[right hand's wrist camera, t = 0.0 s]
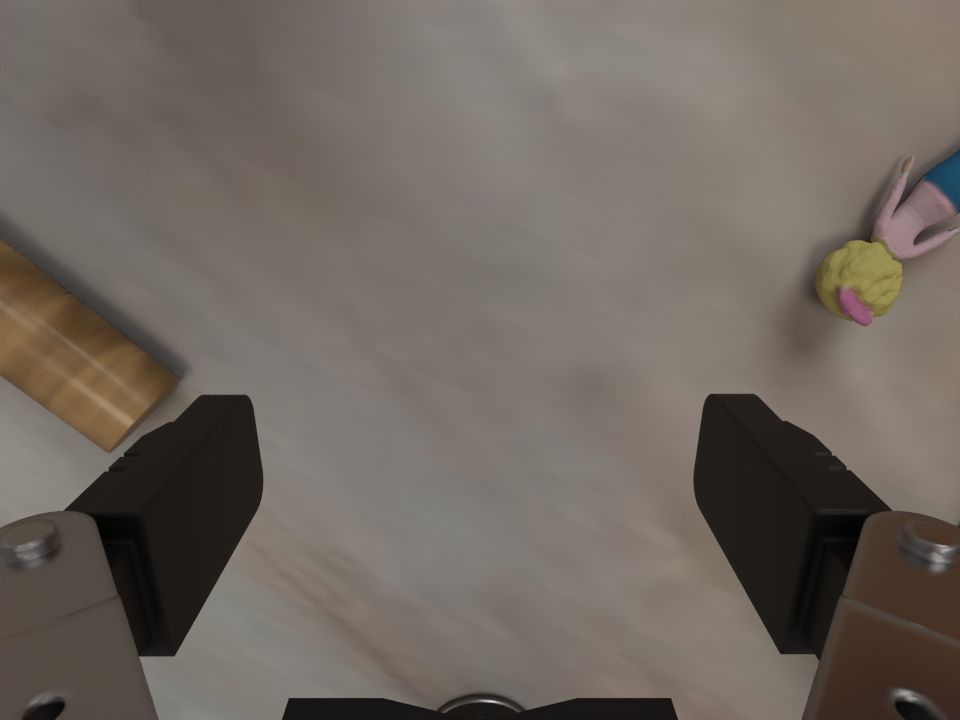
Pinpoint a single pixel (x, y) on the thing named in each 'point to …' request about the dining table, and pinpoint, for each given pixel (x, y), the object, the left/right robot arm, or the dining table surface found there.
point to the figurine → (889, 245)
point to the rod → (74, 357)
